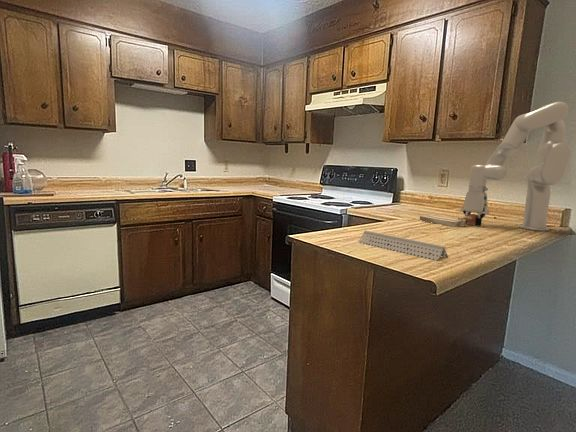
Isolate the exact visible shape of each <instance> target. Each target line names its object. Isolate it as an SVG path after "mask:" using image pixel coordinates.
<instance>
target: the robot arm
mask: <svg viewBox="0 0 576 432" xmlns="http://www.w3.org/2000/svg"><path fill="white" fill-rule="evenodd" d="M569 111H570V108H569V105H568V104H567V103H565V102H563V101H555V102H552V103H547V104H546V105H543V106H541V107H539V108H538V109H536V110H533V111H530V112H527V113H523V114H520V115H518V116H517V117H516V118H515V119H514V120H513V122H512V124H511V125H510V127H509V129H508V130H507V132H506V134H505V136H504V137H503V139H502V141H501V143H500V144H499V145H498V146H497V147H496V149H495V150H494V151H493V153H491V155H490V157H489V158H488V160H487V162H486V163H485V165H484V164H473V165H472V166H471V167H470V173H469V181H468V189H467V190H468V191H467V192H466V193H465V197H464V202H463V203H464V204H463V205H462V207H461V208H460V211H461V212H462V213H463V214H464V217H467V215H468V214H472V212H473V213H477V214H476V215H478V218H477V220H476V226H475V227H480V226H482V223H483V222H482V220H483V218H484V217H486V216H487V215H489V214H490V211H489V209H488V193H487V191H488V187H487V180H491V181H500V180H503V179H504V178H506V176H507V175H508V173H507V171H508V170H507V169H506V168H505V167H504V166H503V165H504V163H505V162H506V161H507V160H508V159H509V158H510V157H511V156H513V155H515V154H516V153H517V152H519V150H520V149H521V148H522V145H523V144H524V142H525V141H526V140H527V137H528V135H529V133H530V132H531V131H532V132H533V131H535V130H539V129H542V128H543V132H542V133H543V134H542V138H541V140H540V144H539V146H538V150H537V153H536V156H537V159H538V160H539V161H540V162H542V163H543V164H538V165H534V166H532V167H531V168H529V170H528V172H527V176H526V180H527V182H526V183H527V184H526V185H527V186H526V187H527V188H526V189H527V190H526V198H525V203H524V211H523V212H524V213H523V219H522V220H523V221H522V224H521V223H520V224H519V225H518V228H520V229H523V230H528V231H529V230H530V231H540V232H541V231H543V232H548V231H550V227H549V226H547V225H548V223H549V221H548V220H547V219H548V213H549V205H550V198H551V186H555V185H557V184H559V183H560V182H561V181H562V180H563V179H564V175H566V174H565V173H566V170H567V167H568V164H569V161H570V158H571V155H572V149H571V147H570V145H569V144H568V143H566V142H565V136H566V133H567V131H566V129H567V127H566V124H565V121H564V119H565V118H566V117H567V116H568V114H569ZM464 221H466V223H467V220H464Z"/></svg>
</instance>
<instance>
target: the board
mask: <svg viewBox="0 0 576 432" xmlns="http://www.w3.org/2000/svg"><path fill="white" fill-rule="evenodd" d="M420 220H422V221H421V222H424V221H427V222H426V223H429V222H432V223H431V224H435V223H436V224H435V225H440V224H441V225H440V226H445V225H446V226H447V227H451V228H455V227H464V226H467V225H466V221H465V220H463V221H461V220H458V218H452V217H447V216H446V217H445V216H440V215H439V216H438V215H432V214H430V215H421V216H419V221H420ZM446 226H445V227H446Z"/></svg>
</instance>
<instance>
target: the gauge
mask: <svg viewBox="0 0 576 432" xmlns="http://www.w3.org/2000/svg"><path fill="white" fill-rule="evenodd" d="M477 218H478V215H477V214H476V213H471V214H468V215H467V217H466V216H460V217H457V219H458V220H461V221H463V220H464V221H465V220H467V223H466V225H465V226H471V227H477V226H476V220H477Z"/></svg>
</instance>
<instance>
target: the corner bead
mask: <svg viewBox="0 0 576 432" xmlns="http://www.w3.org/2000/svg"><path fill="white" fill-rule="evenodd" d="M358 242H359V243H358V244H361V243H363V245H365V244H366V246H369V245H371V246H370V247H375V248H379V249H382V248H383V249H382V250H386V249H387V251H390V250H391V251H392V252H395V251H396V252H397V253H399V252H400V254H403V253H404V254H405V255H408V256H412V257H417V258H420V259H424V260H428V261H433V262H437V261H438V260H439V259H440V257H443V258H448V259H449V258H450V257H449V255H448V253H447V251H446V246H444V245H440V244H434V243H429V242H424V241H420V240H415V239H409V238H405V237H401V236H395V235H391V234H384V233H381V232H374V231H370V230H364V231H363V234H362V235H361V237H360V239H359V240H358ZM388 244H389V245H388Z"/></svg>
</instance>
